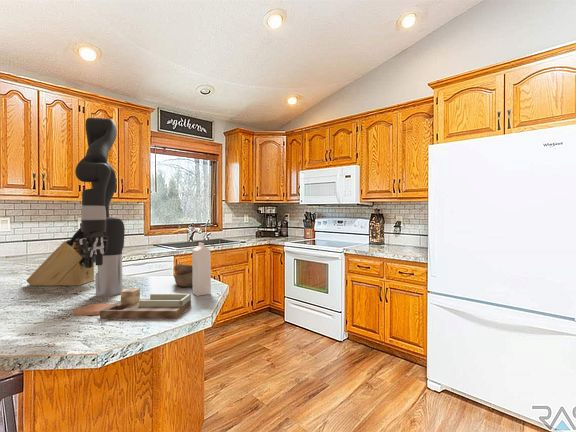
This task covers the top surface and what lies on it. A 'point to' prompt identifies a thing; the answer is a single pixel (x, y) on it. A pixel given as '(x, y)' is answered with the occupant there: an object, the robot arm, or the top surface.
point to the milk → (201, 270)
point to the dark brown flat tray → (142, 311)
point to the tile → (91, 309)
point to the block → (130, 296)
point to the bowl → (183, 275)
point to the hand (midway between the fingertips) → (94, 266)
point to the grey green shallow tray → (165, 300)
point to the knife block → (64, 266)
